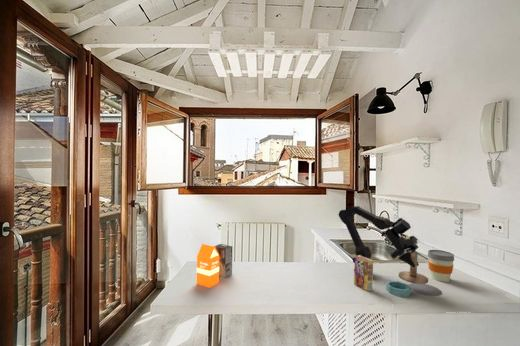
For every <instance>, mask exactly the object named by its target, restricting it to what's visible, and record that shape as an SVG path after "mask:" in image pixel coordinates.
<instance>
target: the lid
mask: <svg viewBox="0 0 520 346" xmlns="http://www.w3.org/2000/svg"><path fill="white" fill-rule="evenodd" d="M418 256H419V255H418V253H417V252H416V251H415V252H411V259H412V261H413V262H414V264H415V266H416V267H412V266H411V265H409V271H408V270H407V271H406V270H405V271H399V272H398V278H399V279H401V280H403V281H405V282H407V283H410V284H411V283H416V284H428V283H429V278H428V277H427V276H425V275H424V274H422V273H418V266H417V262H418Z"/></svg>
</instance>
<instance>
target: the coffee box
mask: <svg viewBox="0 0 520 346" xmlns="http://www.w3.org/2000/svg"><path fill="white" fill-rule="evenodd" d="M213 246H214V247H215V248H216V250H217V252H218V254H219V277H223V278H227V277H230V276H231V274H232V275H233V246H232V245H227V244H223V243H220V244H216V245H213ZM229 275H230V276H229Z"/></svg>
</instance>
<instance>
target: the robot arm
mask: <svg viewBox="0 0 520 346" xmlns="http://www.w3.org/2000/svg"><path fill="white" fill-rule="evenodd" d="M355 215H357V216H360V217H361V218H363V219H365V220H367V221H369V222H371V223H372V224H373V226H374V227H376V228H377V229H378V230H380V231H381V237H386V238H387V239H388V240H389V242H390V246H391V247H394V248H395V250H394V251H392V252H391V253H390V257H391V258H392V260H395V259H398V260H400V261H402V262H403V263H406V264H407V265H409V266H410V265H411V266H412V267H416V266H415V264H414V262H413V261H412V259H411V252H416V251H417V250H418V249H419V248H420V247H419V246H418V245H417V244H418V240H419V239H418V238H417V237H416V236H415V235H410V236H409V238H407V239H406V238H405V237H401V236H400V235H403V234H404V233H406V232H407V231H409V230H411V228H412V227H411V224H410V223H409V222H408V221H407V220H405V219H403V218H402V217H399V218H398V219H397V220H396V221H391V220H390V218H387V217H384V216H378V215H376V214H374V213H371V212H370V211H368V210H366V209H364V208H362V207H360V206H357V205H356V206H352V207H350V208H346V209H341V210H339V212H338V218H339V219H340V220H341V222H342V223H343V224H345V226H346V229H347V231H348V233H349V236H350V238H351V240H352V242H353V244H354V247H355V250H354V251H355V252H354V253H355V256H358V255H360V256H363V257H366V258H368V259H371V260H372V251H371V250H370V247H369V246H366V245H365V244H364V242H363V240H362V238H361V235H360V234H359V232H358V231H359V230H358V229H357V227H356V225H355V222H354V220H355V219H354V218H355V217H354V216H355ZM355 256H354V257H352V263H354V264H355ZM398 256H399V257H398ZM419 265H420V264H419V262H418V261H417V267H419ZM353 271H354V272H355V268H354V269H353Z"/></svg>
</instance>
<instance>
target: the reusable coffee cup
mask: <svg viewBox="0 0 520 346" xmlns="http://www.w3.org/2000/svg"><path fill="white" fill-rule="evenodd" d="M454 261H455V254H454V253H451V252H449V251H446V250H440V249H429V250H428V252H427V263H428V269H429V275H430V278H431V279H432V280H435V281H437V282H442V283H443V282H444V283H448V282H450V281H451V275H452V273H453V271H454Z"/></svg>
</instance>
